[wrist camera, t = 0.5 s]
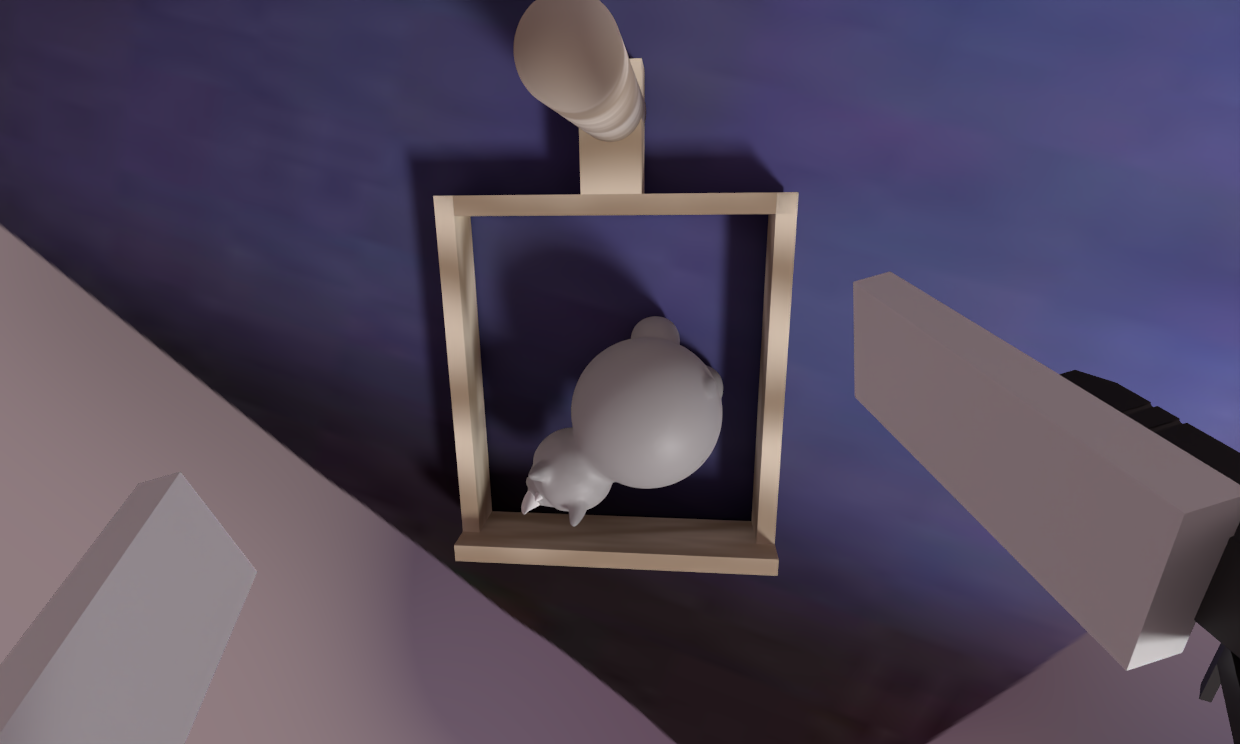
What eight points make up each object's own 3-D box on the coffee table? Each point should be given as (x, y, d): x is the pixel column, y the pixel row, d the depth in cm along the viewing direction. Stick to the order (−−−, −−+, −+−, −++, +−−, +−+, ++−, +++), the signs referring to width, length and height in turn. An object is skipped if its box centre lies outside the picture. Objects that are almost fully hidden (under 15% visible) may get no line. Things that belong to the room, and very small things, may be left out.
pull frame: (441, 74, 32) (265, -15, 18) (797, 64, 30) (893, -42, 17) (477, 524, 39) (371, 698, 25) (767, 536, 37) (817, 728, 24)
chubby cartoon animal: (500, 419, 37) (446, 486, 29) (662, 290, 34) (656, 322, 26) (579, 509, 38) (551, 598, 30) (743, 392, 35) (764, 455, 27)
